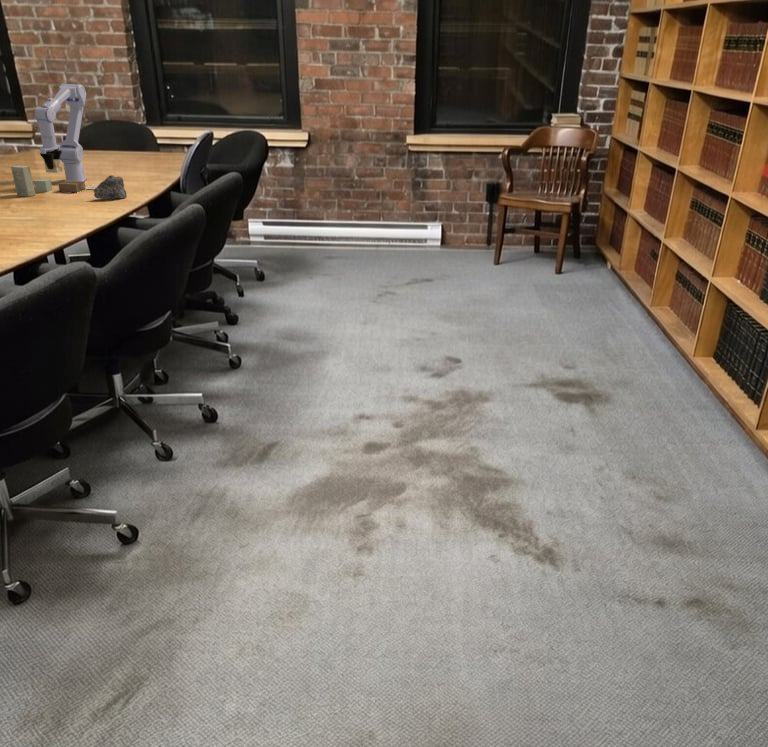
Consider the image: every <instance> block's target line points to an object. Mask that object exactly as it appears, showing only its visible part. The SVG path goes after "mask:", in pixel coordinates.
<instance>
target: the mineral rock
mask: <svg viewBox="0 0 768 747" xmlns="http://www.w3.org/2000/svg"><path fill="white" fill-rule="evenodd" d="M97 185H98V187H97V188H95V189H94V190H92V191H93V193H94V194H93V195H94V196H93V197H95V198H96V199H100V200H109V199H111V200H114V199H126V198H127V196H128V195H127V191H126V189H125V183H124V179H123V177H122V176H114V175H112V174H110V175H108V176H107V177H106V178H105V179H104V180H103V181H101V182H100V183H99V184H97ZM125 197H126V198H125Z"/></svg>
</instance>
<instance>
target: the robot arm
mask: <svg viewBox="0 0 768 747" xmlns="http://www.w3.org/2000/svg"><path fill="white" fill-rule="evenodd" d="M86 98H87V92H86V88H85V86H83V84H72V83H71V84H70V83H61V84H60V85H59V87H58V92H57V93H56V94H55V96H54V97H48V98H47V99H46V101H45V102H44V103H43V104H42V105H41V106H40V107H39V106H38V107H36V108H35V109H34V114H33V116H34V119H35V120H36V123H37V125H38V127H39V133H40V136H41V137H40V138H41V144H42V145H41V146H40V149H39V151H40V153H39V155H40V156H41V158H42V159H43V162H44V161H45V163H46V165H47V167H48V169H53V168H54V166H53V159H57V160H61V163H63V169H64V174H65V180H63V181H62V182H64V181H67V180H71V181H87V180H86V179H87V178H86V172H85V167H84V164H83V163H82V162H83V161H82V160H83V158H84V152H83V150H84V148H83V146H82V145H81V144H80V143H79V140H80V133H81V126H82V120H83V114H84V113H83V112H84V106H86ZM63 103H66V104H67V106H69V107H70V110H69V117H68V124H67V127H66V128H67V129H66V136H65V140H63V141H61V142H60V144H57V137H56V134H55V133H56V132H55V126H54V121H55V120H56V115H57V113H58V112H59V111H60V110H61V109H62V104H63ZM45 163H44V164H45Z"/></svg>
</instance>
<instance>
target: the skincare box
mask: <svg viewBox="0 0 768 747" xmlns="http://www.w3.org/2000/svg"><path fill="white" fill-rule="evenodd" d="M10 170H11V174H12V178H13V183H14V188H15V192H16V195H17V196H18V197H19V196H20V197H32V196H35V195H36V190H35V184H34V180H33V177H32V172H31V171H32V170H31V167H30V166H29V165H19V164H18V165H13V166H10Z"/></svg>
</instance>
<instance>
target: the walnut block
mask: <svg viewBox="0 0 768 747" xmlns="http://www.w3.org/2000/svg"><path fill="white" fill-rule="evenodd" d="M63 181H64V182H63ZM63 181H61V182H58V190H59V192H60V191H62V192H61V193H67V192H76V193H75V194H78V193H77V192H79V193H81V192H83V191H82V190H84V191H85V189H86V188H85V187H86V183H85V181H86V180H85V181H71V180H67V181H65V180H63ZM86 190H87V189H86ZM80 191H81V192H80Z"/></svg>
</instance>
